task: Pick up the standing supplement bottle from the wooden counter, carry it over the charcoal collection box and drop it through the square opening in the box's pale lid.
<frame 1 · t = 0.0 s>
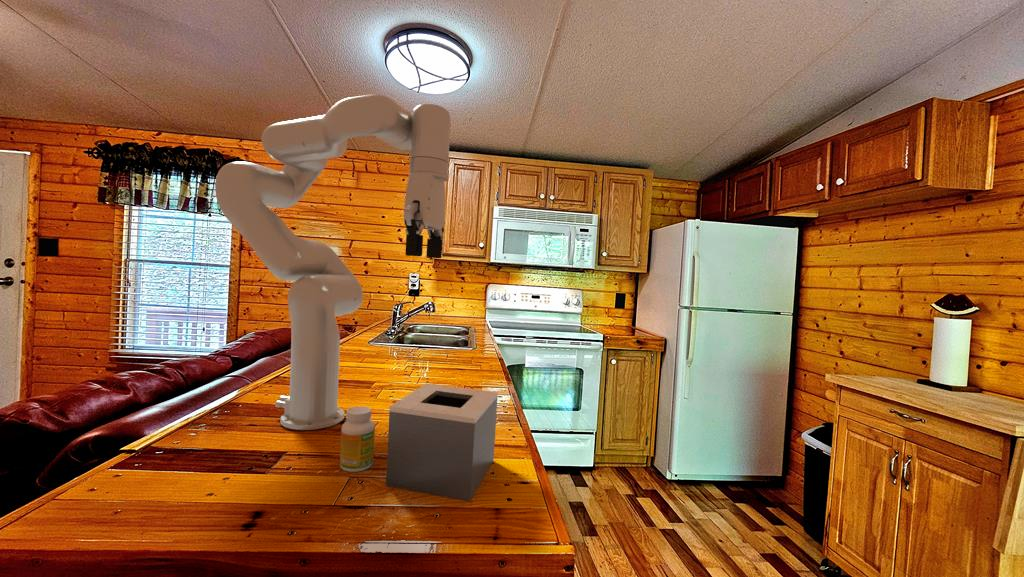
hand: (424, 256, 85), 37 cm above the table, tool pointing down, fingers open, 9 cm apart
supplement bottle: (356, 466, 72), on the table
collection box: (443, 472, 72), on the table
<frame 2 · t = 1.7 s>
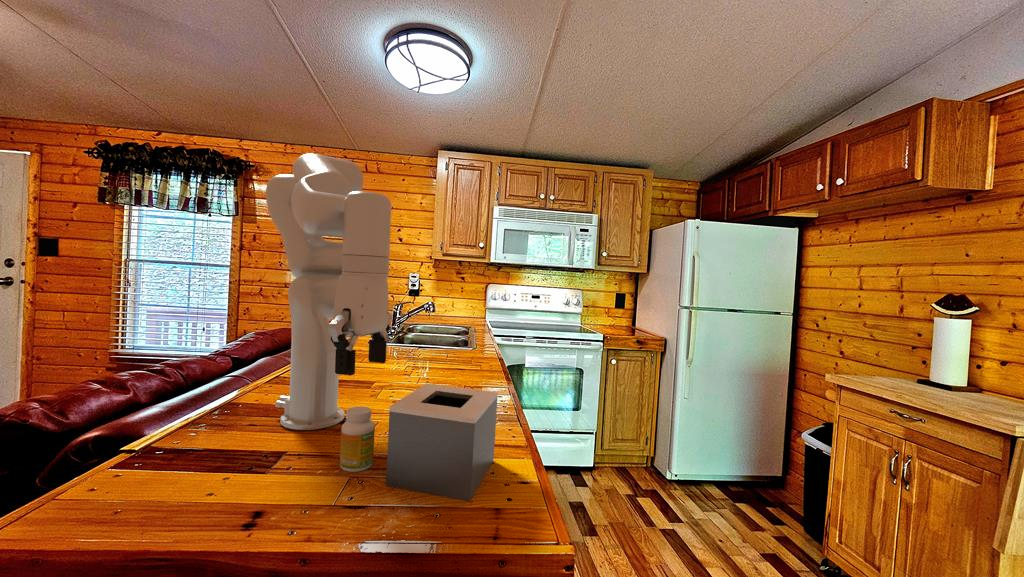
hand: (362, 367, 71), 17 cm above the table, tool pointing down, fingers open, 9 cm apart
nothing on the table moved.
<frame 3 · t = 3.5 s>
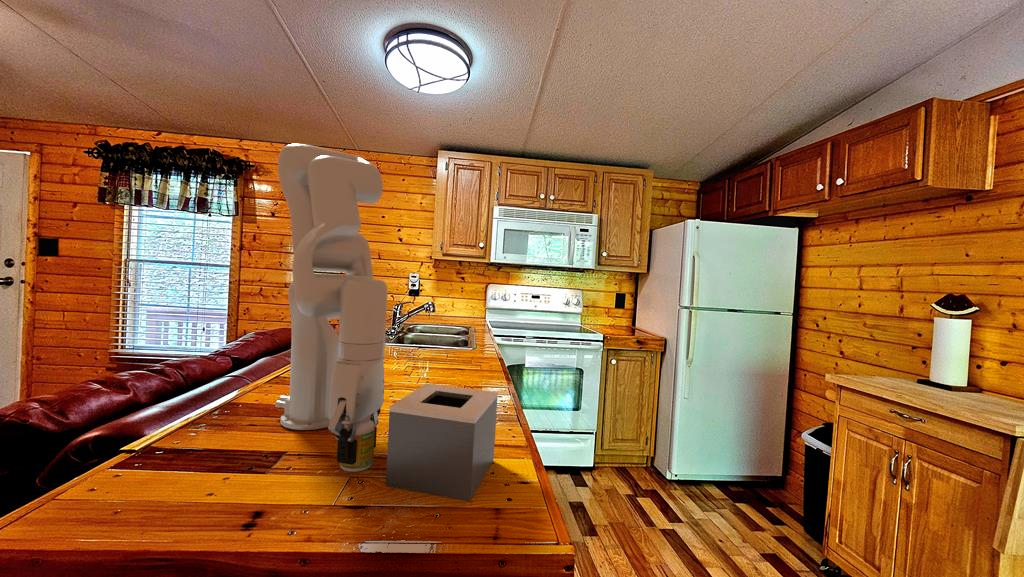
hand: (357, 453, 72), 2 cm above the table, tool pointing down, fingers closed on supplement bottle, 5 cm apart
supplement bottle: (356, 466, 72), on the table, touching gripper
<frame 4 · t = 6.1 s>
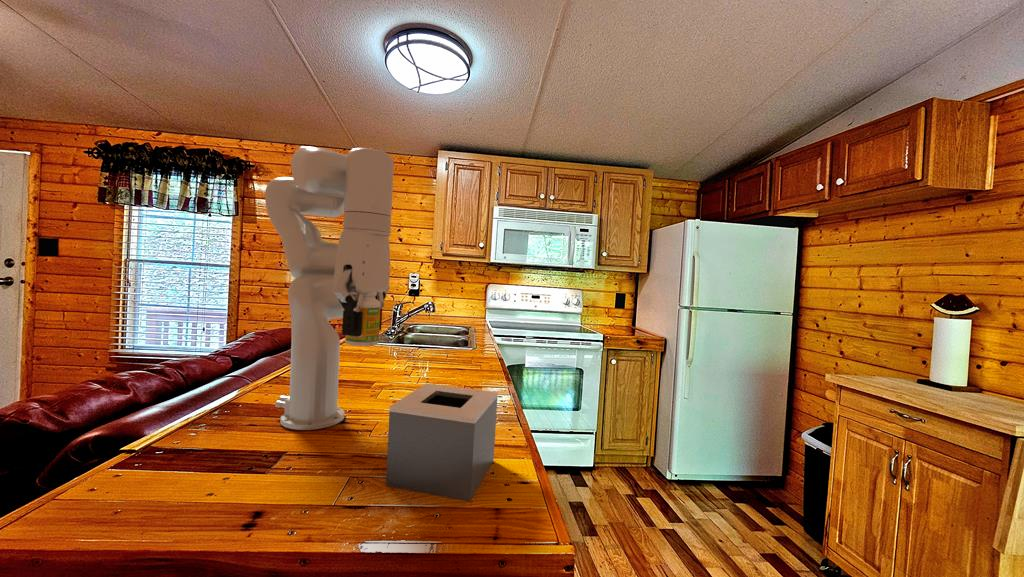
hand: (362, 331, 71), 23 cm above the table, tool pointing down, fingers closed on supplement bottle, 5 cm apart
supplement bottle: (362, 344, 72), point 21 cm above the table, touching gripper
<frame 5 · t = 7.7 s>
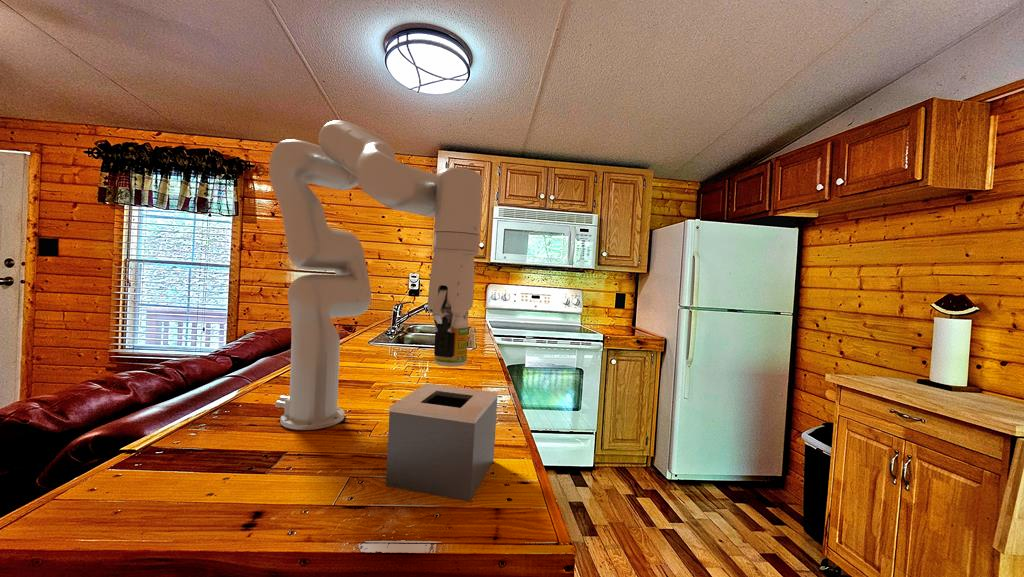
hand: (450, 351, 71), 21 cm above the table, tool pointing down, fingers closed on supplement bottle, 5 cm apart
supplement bottle: (450, 364, 71), point 19 cm above the table, touching gripper
when the fingers open (16 cm above the table, at t = 8.9 s): supplement bottle drops 14 cm, resting in collection box.
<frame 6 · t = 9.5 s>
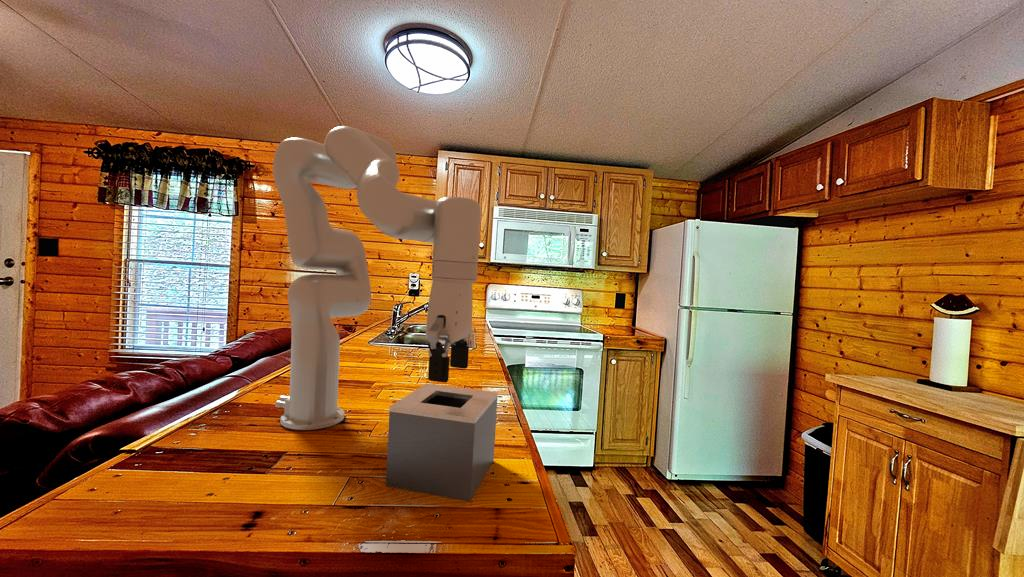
hand: (449, 373, 71), 17 cm above the table, tool pointing down, fingers open, 9 cm apart
supplement bottle: (442, 473, 72), resting in collection box
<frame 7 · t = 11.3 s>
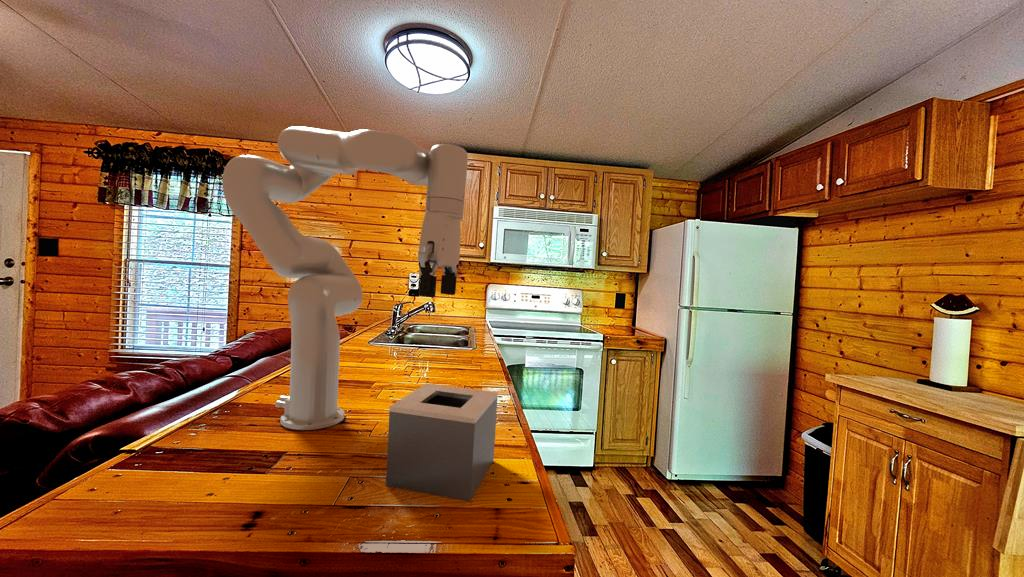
hand: (437, 295, 84), 29 cm above the table, tool pointing down, fingers open, 9 cm apart
nothing on the table moved.
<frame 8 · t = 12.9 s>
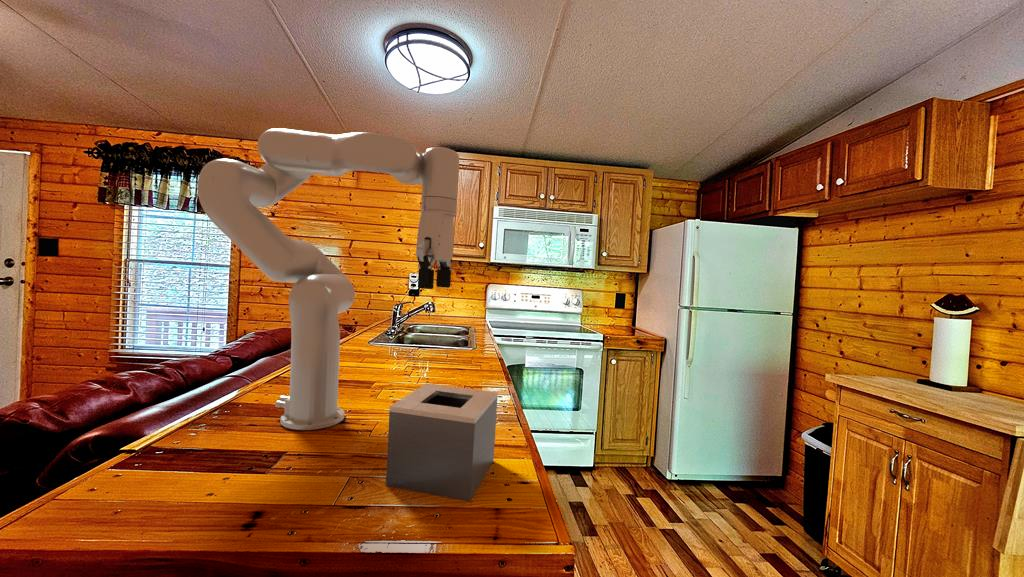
hand: (434, 287, 91), 30 cm above the table, tool pointing down, fingers open, 9 cm apart
nothing on the table moved.
at the end: supplement bottle inside the target area on the collection box (0.2 cm from its centre), point 0.0 cm above the collection box's base; the gripper is holding nothing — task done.
